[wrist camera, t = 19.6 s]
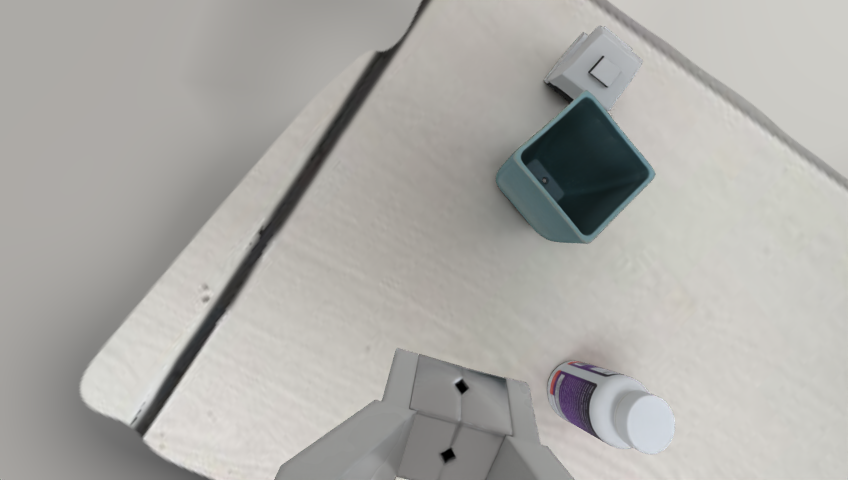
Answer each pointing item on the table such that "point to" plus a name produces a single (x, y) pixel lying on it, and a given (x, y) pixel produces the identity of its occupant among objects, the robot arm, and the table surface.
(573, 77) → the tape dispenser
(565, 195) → the flower pot
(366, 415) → the robot arm
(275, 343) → the table surface
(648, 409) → the pill bottle
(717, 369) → the table surface
